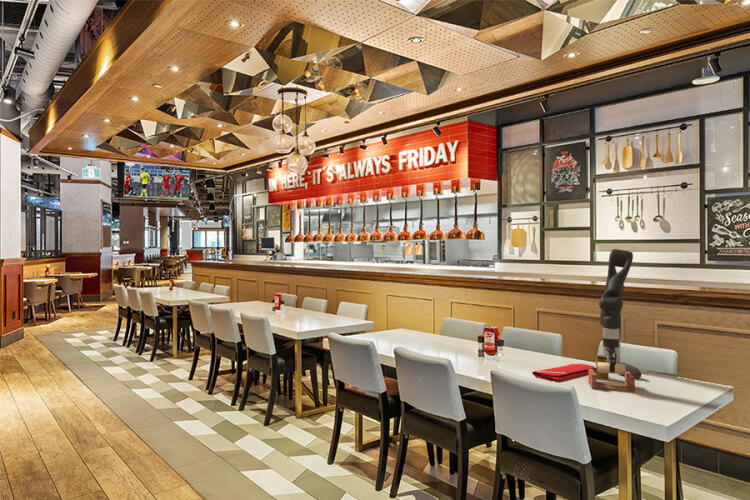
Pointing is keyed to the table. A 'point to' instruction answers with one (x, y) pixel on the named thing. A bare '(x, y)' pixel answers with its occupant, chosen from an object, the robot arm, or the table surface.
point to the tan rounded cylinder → (606, 368)
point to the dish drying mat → (564, 372)
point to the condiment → (602, 375)
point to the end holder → (612, 383)
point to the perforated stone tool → (631, 370)
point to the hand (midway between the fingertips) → (611, 371)
